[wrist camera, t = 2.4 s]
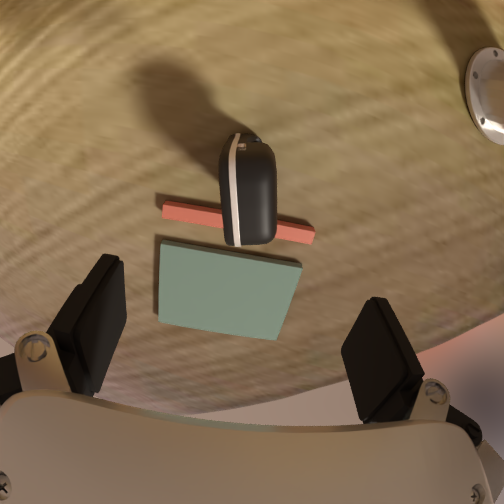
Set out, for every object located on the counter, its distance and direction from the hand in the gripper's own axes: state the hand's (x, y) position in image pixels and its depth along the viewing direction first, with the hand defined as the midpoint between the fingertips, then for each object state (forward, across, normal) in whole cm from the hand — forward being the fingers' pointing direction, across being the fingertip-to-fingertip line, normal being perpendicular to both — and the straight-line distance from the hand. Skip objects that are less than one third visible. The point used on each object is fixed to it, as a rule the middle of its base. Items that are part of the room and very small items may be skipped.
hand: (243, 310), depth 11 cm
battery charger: (+21, 0, 0) cm, 21 cm away
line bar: (+21, 0, +6) cm, 22 cm away
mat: (+21, 0, +16) cm, 26 cm away
